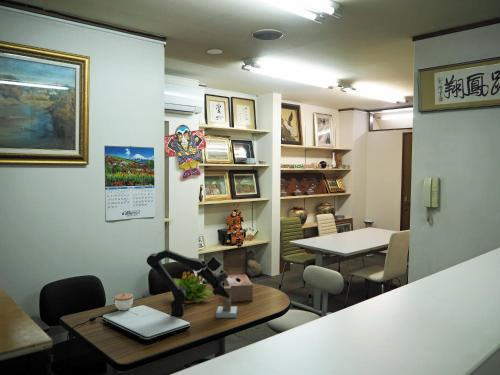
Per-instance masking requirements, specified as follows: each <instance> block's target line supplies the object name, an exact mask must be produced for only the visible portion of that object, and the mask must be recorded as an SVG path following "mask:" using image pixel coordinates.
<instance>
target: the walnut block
mask: <svg viewBox="0 0 500 375" xmlns="http://www.w3.org/2000/svg"><path fill="white" fill-rule="evenodd" d="M224 290H225V291H226V292H227V294H228V295H229V296H230V297H229V298H226V297H223V296H222V306H223V311H231V306H232V301H231V286H224Z"/></svg>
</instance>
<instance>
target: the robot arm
mask: <svg viewBox="0 0 500 375" xmlns="http://www.w3.org/2000/svg"><path fill="white" fill-rule="evenodd" d="M166 258H167V259H170V260H172V261H174V262H177V263H180V264H183V265H186V266H187V267H188V268H190V270H192V271H194V272H196V276H197V277H199V278H200V275H201V276H202V277H203V279H204V280H205V281H206V283H207V285H210V287H211V288H212V291H213V292H212V294H213V295H214V296H216V295H217V296H221V297H222V298H223V297H226V298H229V297H230V296H229V295H228V294H227V292H226V291H225V290H224V286H225V279H226V278H228V275H229V274H228V272H227V271H226V270H223V269H221V270H219V273H218V274H217V273H214V272H216V271H217V270H218V269H219V268H220V267H221V266H222V265H223V263H222V261H221V260H220V259H219V258H217V257H216V256H215V255H213V256H212V257H211V258H210V259H209V260H208V261H205V260H202V259H200V258H196V257H188V256H185V255H183V254H180V253H178V252H175V251H172V250H170V249H169V248H167V249H164V250H162V251H160V252H157V253H156V252H155V253H154V252H153V253H151V254H150V255H149V256H147V258H146V264H147V265H148V266H150V267H151V269H153V270H155V271H156V272H157V274H158V275H159V277H160V278H161V279H162V280H163V281H164V283H165V284H166V285H167V287H168V288H169V290H170V291H171V294H172V296H173V297H174V298H173V299H172V300H171V303H170V305H171V306H170V309H171V314H170V317H171V316H175V317H178V318H179V317H183V316H184V314H185V305H184V300H185V298H186V290H185V289H184V288H183V286H181V287H179V286H178V285H177V284H176V283H175V281H174V280H173V277H172V276H171V275H170V273H169V272H168V270H166V268H165V267H164V265H163V263H162V260H163V259H164V260H165V259H166Z"/></svg>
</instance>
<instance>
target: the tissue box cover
mask: <svg viewBox="0 0 500 375" xmlns="http://www.w3.org/2000/svg"><path fill="white" fill-rule="evenodd" d="M224 281H225V286H231V302H246V300H247V301H253V300H254V298H253V297H254V295H253V294H254V292H253V291H254V290H253V288H254V287H253V286H254V285H253V283H252V282H251V280H250V279H249V276H248V275H247V274H228V278H226V279H224Z"/></svg>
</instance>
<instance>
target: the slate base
mask: <svg viewBox="0 0 500 375" xmlns="http://www.w3.org/2000/svg"><path fill="white" fill-rule="evenodd" d="M237 314H238V306H237V305H236V306H232V305H231V311H223V305H222V306H221V305H219V306H218V307H217V310H216V312H215V318H227V319H228V318H232V319H233V318H235V319H236V318H237Z"/></svg>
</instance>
